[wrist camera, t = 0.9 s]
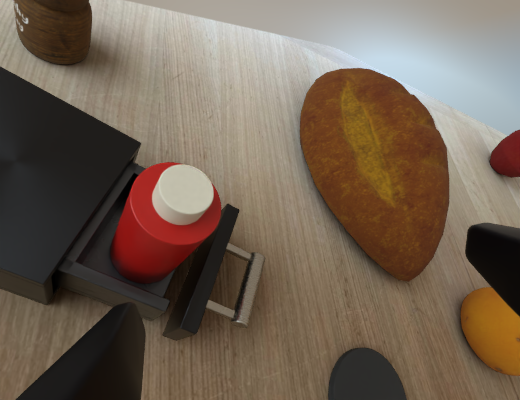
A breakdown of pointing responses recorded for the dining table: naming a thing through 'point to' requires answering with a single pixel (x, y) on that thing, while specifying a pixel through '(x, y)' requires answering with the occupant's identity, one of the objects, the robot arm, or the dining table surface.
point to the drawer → (151, 294)
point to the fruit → (492, 330)
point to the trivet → (364, 377)
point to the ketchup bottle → (164, 221)
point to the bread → (378, 166)
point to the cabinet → (49, 181)
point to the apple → (507, 156)
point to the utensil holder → (55, 28)
